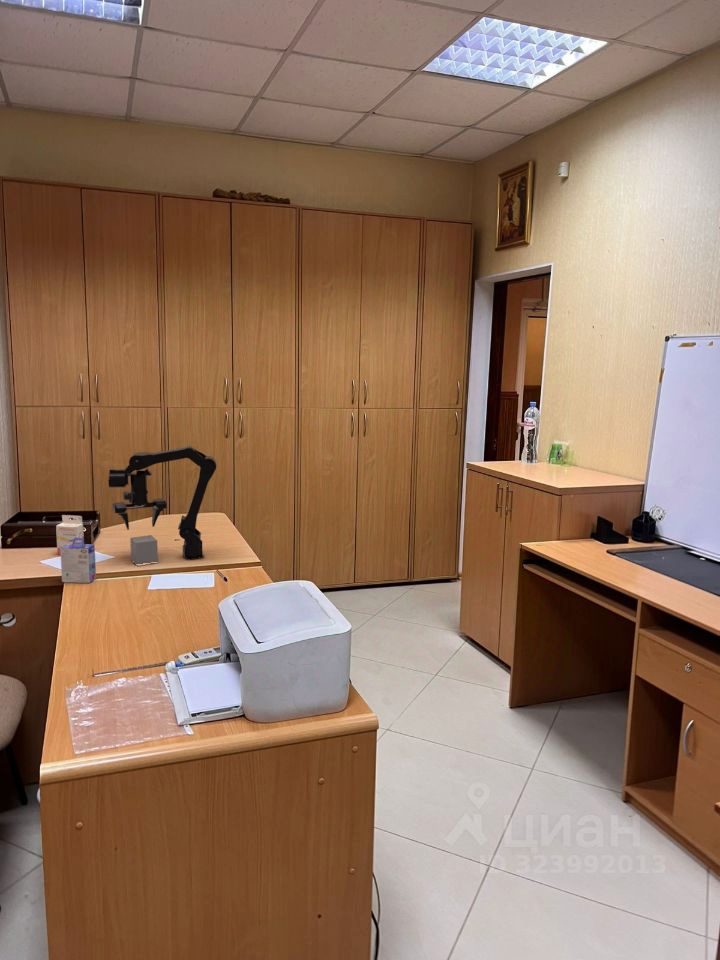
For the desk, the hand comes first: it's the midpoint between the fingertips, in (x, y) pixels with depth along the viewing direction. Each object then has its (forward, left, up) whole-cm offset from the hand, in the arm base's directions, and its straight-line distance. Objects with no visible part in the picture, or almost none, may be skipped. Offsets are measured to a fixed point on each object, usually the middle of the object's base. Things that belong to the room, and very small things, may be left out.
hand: (140, 528), depth 253 cm
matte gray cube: (0, +4, -12) cm, 13 cm away
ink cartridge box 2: (+24, +14, -12) cm, 31 cm away
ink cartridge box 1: (+22, -18, -12) cm, 31 cm away
